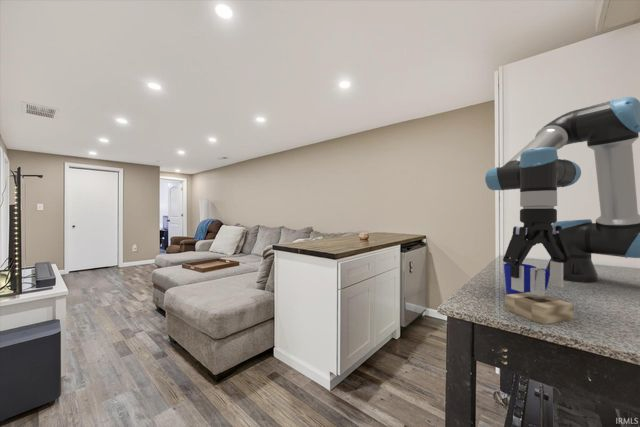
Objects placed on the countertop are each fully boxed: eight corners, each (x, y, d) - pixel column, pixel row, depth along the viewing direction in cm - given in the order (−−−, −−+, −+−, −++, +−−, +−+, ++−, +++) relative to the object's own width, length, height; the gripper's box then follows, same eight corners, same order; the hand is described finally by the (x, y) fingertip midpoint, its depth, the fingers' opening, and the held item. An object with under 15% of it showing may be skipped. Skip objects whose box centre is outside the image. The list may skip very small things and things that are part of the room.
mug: (557, 303, 77) (557, 269, 77) (511, 300, 80) (511, 268, 79) (540, 294, 85) (540, 263, 85) (498, 292, 88) (499, 262, 88)
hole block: (532, 305, 75) (532, 291, 75) (573, 319, 66) (573, 303, 66) (504, 309, 73) (504, 294, 73) (543, 324, 63) (543, 307, 63)
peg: (535, 311, 71) (536, 267, 71) (547, 315, 68) (548, 270, 68) (527, 312, 70) (527, 268, 70) (539, 317, 68) (539, 270, 67)
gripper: (556, 207, 76) (556, 280, 76) (487, 208, 69) (487, 287, 70) (589, 207, 68) (588, 288, 69) (514, 208, 62) (514, 296, 62)
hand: (537, 288), depth 69 cm, fingers open, 13 cm apart
